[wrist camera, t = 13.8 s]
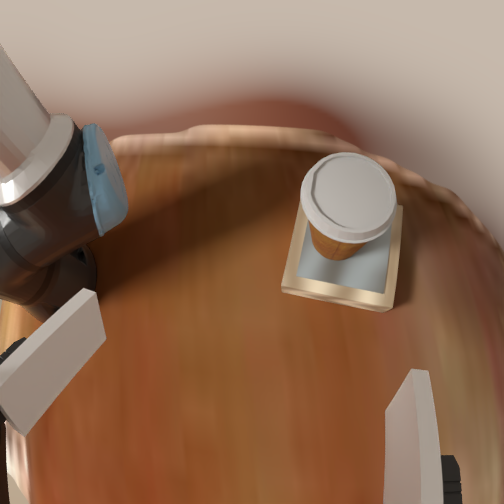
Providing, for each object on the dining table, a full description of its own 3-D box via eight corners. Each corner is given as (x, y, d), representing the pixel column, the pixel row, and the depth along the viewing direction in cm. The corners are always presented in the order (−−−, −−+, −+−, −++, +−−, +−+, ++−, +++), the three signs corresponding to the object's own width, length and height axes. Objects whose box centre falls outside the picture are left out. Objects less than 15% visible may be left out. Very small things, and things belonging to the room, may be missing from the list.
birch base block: (282, 292, 43) (281, 285, 39) (302, 198, 47) (303, 184, 43) (383, 312, 40) (393, 307, 36) (395, 217, 44) (403, 205, 40)
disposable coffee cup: (328, 189, 42) (339, 133, 31) (386, 232, 39) (416, 187, 28) (282, 240, 40) (279, 194, 29) (342, 289, 38) (364, 259, 26)
